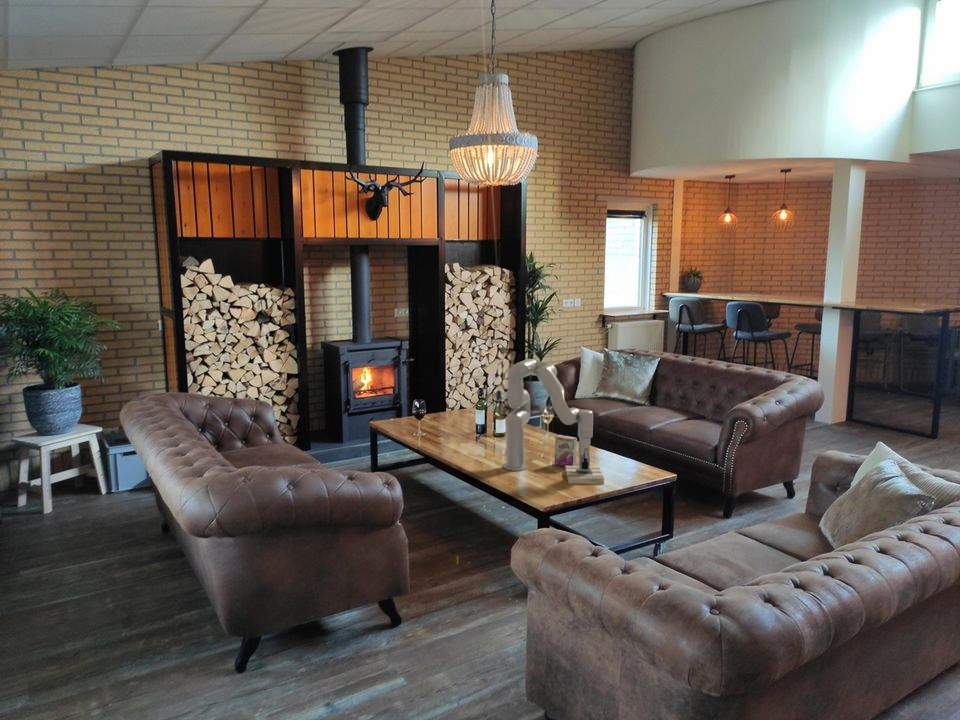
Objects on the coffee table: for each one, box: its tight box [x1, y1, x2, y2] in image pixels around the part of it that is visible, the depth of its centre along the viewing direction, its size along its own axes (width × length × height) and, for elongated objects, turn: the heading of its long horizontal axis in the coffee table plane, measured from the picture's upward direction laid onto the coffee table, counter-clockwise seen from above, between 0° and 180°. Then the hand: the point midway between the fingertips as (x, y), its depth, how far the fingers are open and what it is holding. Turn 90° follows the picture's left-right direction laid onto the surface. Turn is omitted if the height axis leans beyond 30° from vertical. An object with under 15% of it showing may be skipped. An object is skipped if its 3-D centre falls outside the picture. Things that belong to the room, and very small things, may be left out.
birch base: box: [564, 465, 605, 485], centre depth 375 cm, size 20×18×3 cm
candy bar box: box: [554, 434, 578, 467], centre depth 394 cm, size 11×5×16 cm, turn 59°
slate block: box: [578, 453, 591, 471], centre depth 374 cm, size 5×5×8 cm
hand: (584, 466), depth 374 cm, fingers closed on slate block, 5 cm apart
